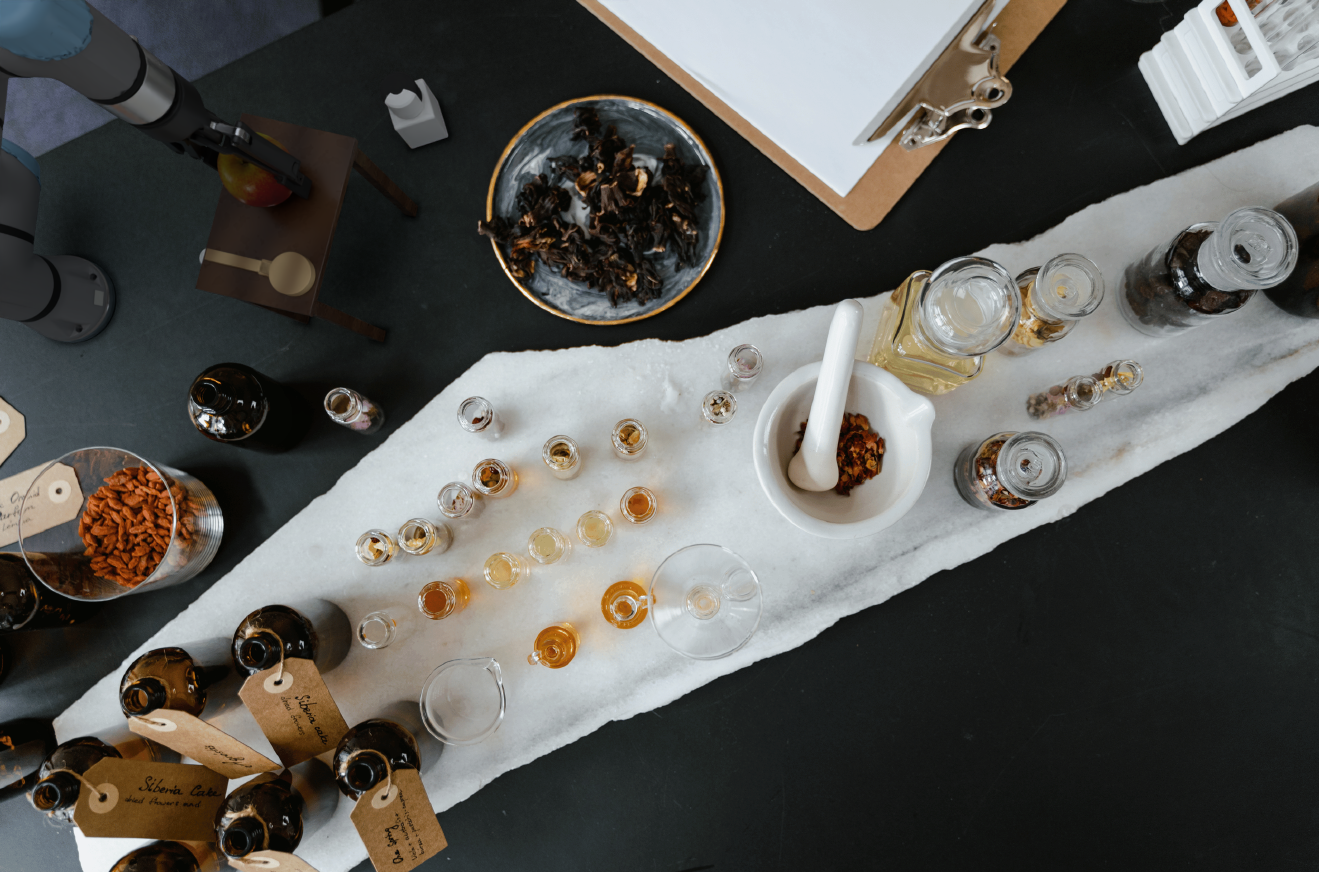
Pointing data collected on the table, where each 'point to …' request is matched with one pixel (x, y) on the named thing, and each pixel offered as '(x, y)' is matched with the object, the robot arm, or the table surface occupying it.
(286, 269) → the wooden paddle
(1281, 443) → the table surface
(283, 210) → the dark wooden stool
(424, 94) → the gray notched block
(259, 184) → the fruit
